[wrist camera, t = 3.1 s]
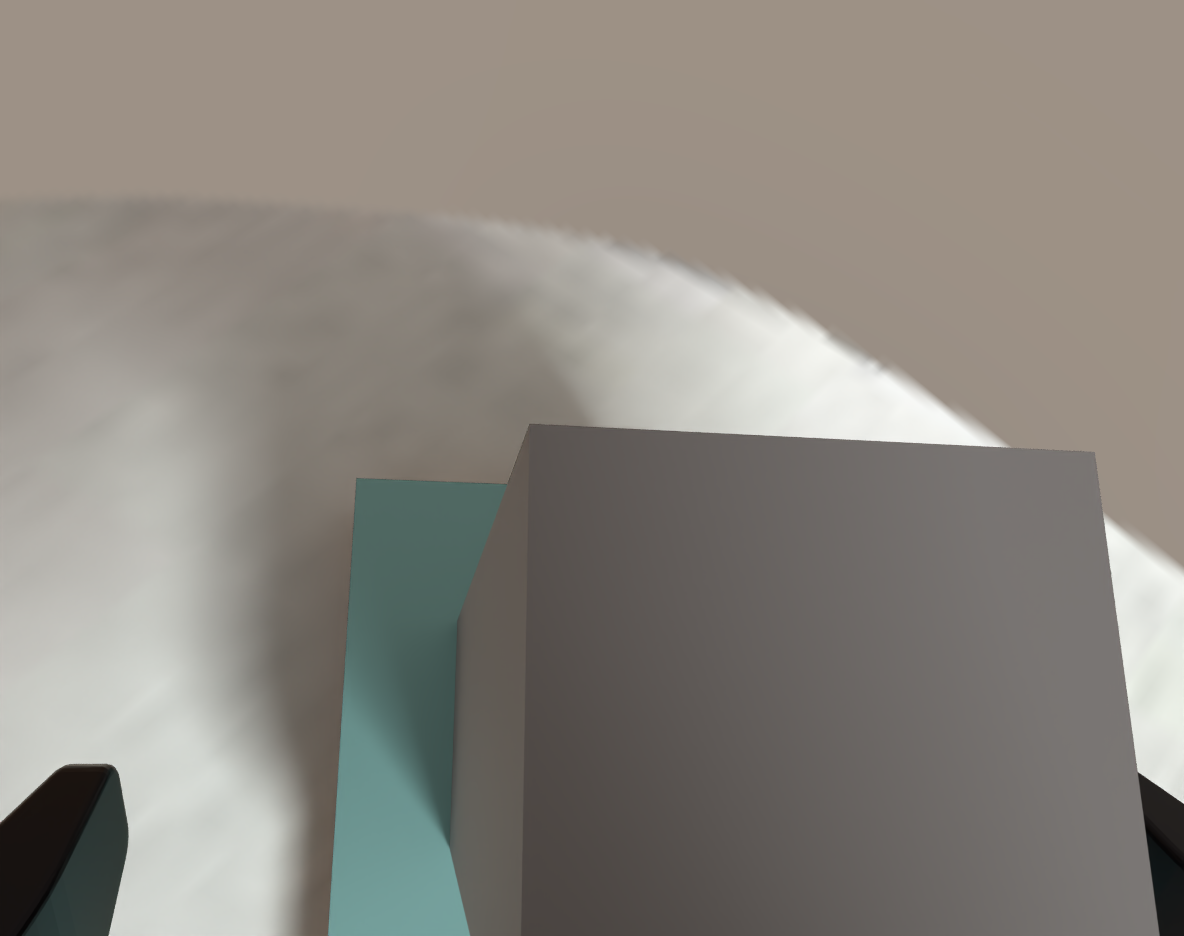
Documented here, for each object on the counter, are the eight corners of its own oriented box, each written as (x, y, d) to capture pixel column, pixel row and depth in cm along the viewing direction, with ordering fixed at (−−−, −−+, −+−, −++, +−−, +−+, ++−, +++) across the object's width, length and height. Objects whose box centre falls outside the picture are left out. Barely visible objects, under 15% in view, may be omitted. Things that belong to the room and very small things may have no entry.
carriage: (734, 963, 15) (1564, 1600, 4) (335, 980, 14) (44, 1872, 3) (719, 519, 17) (1276, 143, 6) (364, 507, 16) (242, 31, 5)
